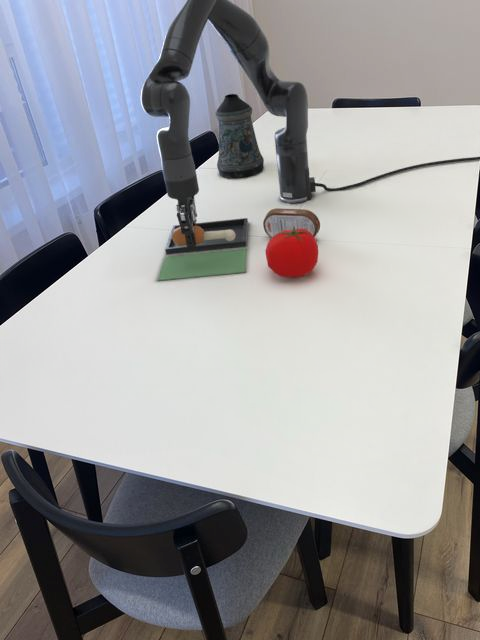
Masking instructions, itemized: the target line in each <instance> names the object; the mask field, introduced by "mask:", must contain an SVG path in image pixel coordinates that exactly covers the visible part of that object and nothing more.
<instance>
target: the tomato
mask: <svg viewBox="0 0 480 640" xmlns="http://www.w3.org/2000/svg"><path fill="white" fill-rule="evenodd" d="M265 259H266V263H267V267H268V268H269V269H270V270H271V271H272V272H273V273H274V274H276V275H277V276H279V277H283V278H299V277H305V276H306V275H308V274H310V273H311V272H312V271H313V270H314V268H315V267H316V265H317V263H318V260H319V245H318V243H317V240H316V236H315V237H314V236H313V235H312V233H311V232H309V231H307V230H305V229H296V230H295V226H294V228H293V231H290V230H284V231H282V232H280V233H278V234H276V235H274V236H273V237H272V238H270V239H269V240H268V242H267V244H266V248H265Z"/></svg>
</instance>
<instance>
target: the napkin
mask: <svg viewBox="0 0 480 640" xmlns="http://www.w3.org/2000/svg"><path fill="white" fill-rule="evenodd" d="M247 254H248V248H247V247H245V248H237V249H236V248H235V249H225V250H215V251H208V252H207V251H205V252H198V253H197V252H195V253H188V254H187V253H184V254H177V255H176V254H174V255H167V256H164V259H163V261H162V265H161V267H160V270H159V273H158V277H157V282H161V281H163V282H164V281H173V280H182V279H194V278H204V277H215V276H224V275H226V276H227V275H235V274H244V273H245V274H246V272H247V271H246V270H247Z"/></svg>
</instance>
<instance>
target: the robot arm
mask: <svg viewBox="0 0 480 640" xmlns="http://www.w3.org/2000/svg"><path fill="white" fill-rule="evenodd" d="M207 22H209V23H210V24H211V27H213V29H215V31H216V33H217V34H218V36H219V37H220V38H221V39H222V41H223V43H224V44H225V46H226V48H227V49H228V50H229V52H230V53H231V54H232V56H233V57H234V59H235V61H236V62H237V63H238V64H239V65H240V67H241V68H242V70H243V71H244V73H245V74H246V76H247V78H248V79H249V80H250V82H251V83H252V86H253V87H254V88H255V90H256V92H257V94H258V95H259V97H260V99H261V101H262V104H263V105H264V107H265V108H266V110H267V111H268V112H269V113H270V114H271V115H272V116H276V117H281V118H285V127H282V128H279V129H278V130H276V131H275V133H274V145H275V146H274V147H275V154H276V155H275V156H276V164H277V176H278V187H279V199H280V201H281V202H283V203H286V204H298V203H303V202H306V201H309V200H312V195H311V194H312V193H316V192H317V190H316V189H317V188H316V187H320V188H323V190H324V191H326V192H339V191H345V190H349V189H352V188H357V187H360V186H363V185H366V184H369V183H371V182H374V181H377V180H380V179H383V178H386V177H388V176H392V175H395V174H398V173H402V172H406V171H410V170H415V169H419V168H423V167H428V166H436V165H437V166H438V165H444V164H449V163H450V164H452V163H461V162H470V161H480V156H472V157H471V156H470V157H461V158H453V159H444V160H438V161H437V160H436V161H431V162H424V163H420V164H415V165H411V166H406V167H402V168H398V169H395V170H392V171H388V172H386V173H383V174H380V175H376V176H374V177H370V178H368V179H365V180H363V181H360V182H357V183H353V184H348V185H345V186H341V187H336V188H335V187H333V188H332V187H328V186H327V185H326V184H324V183H319V182H316V179H315V177H314V176H312V177H310V166H309V154H308V153H309V152H308V140H307V139H308V138H307V137H308V135H307V134H308V129H309V99H308V92H307V89H306V87H305V85H304V84H303V83H302V82H300V81H291V80H281V79H279V78H278V77H277V76H276V74H275V72H274V71H273V70H272V68H271V66H270V45H269V40H268V38H267V36H266V34H265V33H264V31H263V29H262V28H261V26H260V25H259V23H258V22H257V21H256V19H255V18H254V17H253V16H252V15H251V14H250V13H249V12H248V11H246V10H244V9H243V8H242V7H239V6H238V5H237V4H235V3H234V2H232V1H231V0H186V2H185V4H183V7H182V8H181V9H180V11H179V12H178V13H177V15H176V17H175V18H174V19H173V20H172V22H171V24H170V25H169V27H168V29H167V32H166V33H165V37H164V40H163V44H162V47H161V50H160V55H159V58H158V60H157V62H156V63H154V66H153V67H152V69H151V71H150V72H149V74H148V76H147V77H146V78H145V81H144V83H143V85H142V88H141V92H140V93H141V94H140V104H141V107H142V109H143V111H144V112H145V113H146V115H148V116H150V117H155V118H156V117H157V118H161V117H162V118H169V125H168V126H165V127H162V128H161V129H159V130H158V131H157V132H156V133H157V134H156V140H157V145H158V151H159V156H160V160H161V161H160V162H161V171H162V174H163V180H164V184H165V189H166V194H167V197H168V198H170V199H172V200H176V201H177V204H176V207H175V208H176V211H177V212H176V217H177V221H178V225H180V228H181V233H182V234H185V239H186V243H187V247H195V246H196V241H195V235H194V228H193V226H197V225H196V223H197V221H198V220H197V218H198V213H197V209H196V199H195V196H196V195H197V194H198V193H199V191H200V187H199V182H198V177H197V176H198V175H197V169H196V164H195V161H194V157H193V154H192V148H191V142H190V138H189V127H190V111H191V98H190V94H189V91H188V89H187V87H186V85H184V84H183V83H181V81H182V80H185V79H186V78H188V77H189V76H190V73H191V71H192V67H193V63H194V60H195V57H196V52H197V49H198V45H199V43H200V38H201V37H202V34H203V32H204V29H205V26H206V24H207ZM185 226H188V227H189V228H185Z"/></svg>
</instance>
